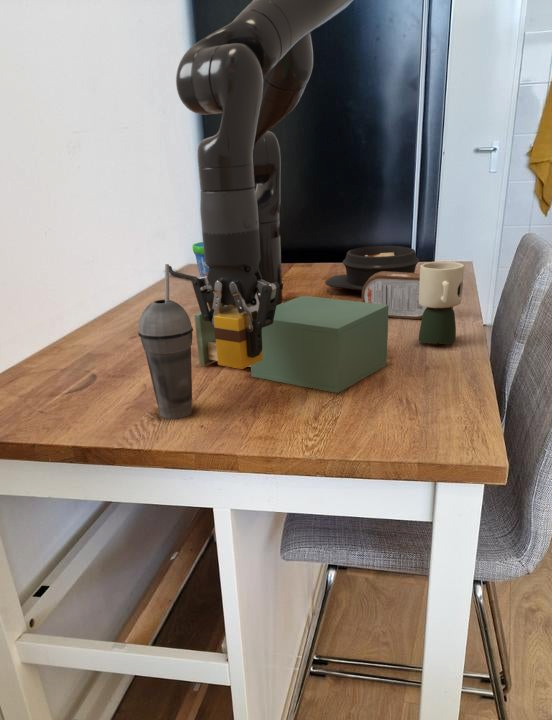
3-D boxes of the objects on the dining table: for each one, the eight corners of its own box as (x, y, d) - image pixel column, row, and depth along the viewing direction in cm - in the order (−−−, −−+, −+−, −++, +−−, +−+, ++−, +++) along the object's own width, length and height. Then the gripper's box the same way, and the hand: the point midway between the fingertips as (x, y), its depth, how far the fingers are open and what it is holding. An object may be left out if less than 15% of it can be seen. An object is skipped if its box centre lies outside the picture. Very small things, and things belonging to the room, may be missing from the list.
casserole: (318, 299, 156) (318, 259, 151) (331, 281, 171) (331, 244, 167) (434, 299, 150) (437, 258, 146) (437, 281, 166) (439, 243, 162)
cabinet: (251, 376, 112) (247, 316, 107) (304, 351, 122) (302, 295, 117) (338, 393, 103) (337, 328, 98) (386, 364, 114) (388, 304, 109)
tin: (438, 317, 137) (441, 272, 133) (434, 321, 135) (437, 276, 131) (364, 313, 143) (365, 269, 139) (359, 317, 141) (360, 273, 136)
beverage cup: (151, 405, 103) (131, 261, 93) (201, 401, 103) (186, 258, 93) (148, 424, 96) (126, 272, 86) (201, 420, 97) (185, 268, 87)
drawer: (192, 363, 118) (186, 312, 114) (246, 340, 128) (243, 293, 124) (275, 378, 109) (272, 325, 105) (327, 352, 119) (326, 303, 115)
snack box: (239, 355, 105) (235, 307, 101) (263, 359, 102) (260, 310, 99) (217, 365, 101) (212, 315, 98) (241, 369, 99) (238, 319, 95)
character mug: (464, 351, 118) (471, 270, 111) (421, 353, 118) (425, 272, 111) (451, 333, 127) (457, 258, 121) (411, 335, 127) (415, 260, 121)
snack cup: (192, 283, 177) (188, 240, 172) (234, 279, 179) (231, 236, 174) (201, 296, 164) (196, 250, 159) (245, 291, 166) (242, 246, 161)
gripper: (291, 224, 92) (295, 353, 100) (207, 220, 99) (218, 341, 108) (256, 233, 86) (264, 368, 95) (171, 228, 94) (185, 354, 102)
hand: (239, 353), depth 101 cm, fingers closed on snack box, 4 cm apart
